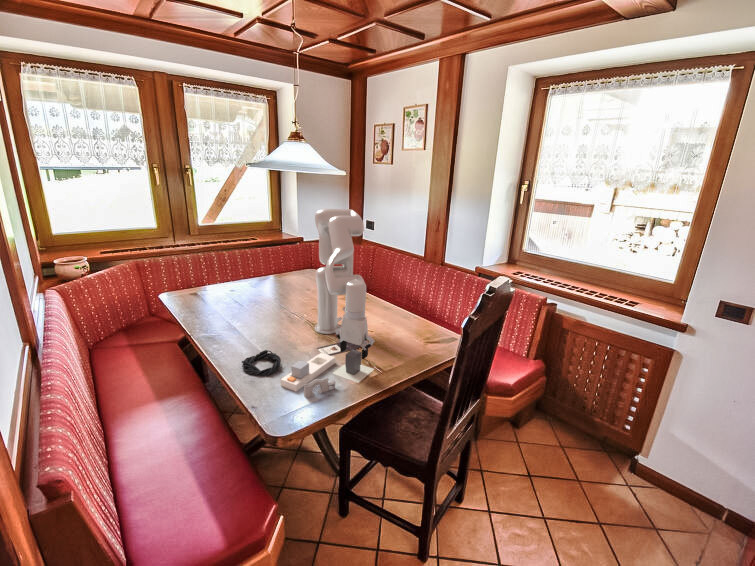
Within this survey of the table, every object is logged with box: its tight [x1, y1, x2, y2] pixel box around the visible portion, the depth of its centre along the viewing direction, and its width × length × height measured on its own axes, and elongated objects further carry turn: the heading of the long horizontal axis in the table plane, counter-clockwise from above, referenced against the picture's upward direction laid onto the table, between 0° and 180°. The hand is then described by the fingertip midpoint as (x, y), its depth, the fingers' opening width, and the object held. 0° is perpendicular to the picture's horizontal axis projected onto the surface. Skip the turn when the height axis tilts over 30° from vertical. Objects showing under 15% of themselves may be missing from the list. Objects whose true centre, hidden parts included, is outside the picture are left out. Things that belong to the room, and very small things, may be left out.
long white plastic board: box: [280, 352, 336, 392], centre depth 142 cm, size 24×7×4 cm, turn 152°
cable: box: [241, 349, 282, 377], centre depth 146 cm, size 17×14×4 cm
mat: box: [331, 363, 375, 384], centre depth 146 cm, size 12×12×1 cm
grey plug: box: [291, 360, 309, 379], centre depth 137 cm, size 5×4×6 cm
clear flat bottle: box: [303, 377, 337, 398], centre depth 130 cm, size 12×2×6 cm, turn 124°
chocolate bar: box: [316, 341, 363, 356], centre depth 164 cm, size 9×1×18 cm
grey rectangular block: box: [344, 349, 362, 375], centre depth 144 cm, size 5×4×8 cm
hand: (353, 354), depth 144 cm, fingers open, 9 cm apart
